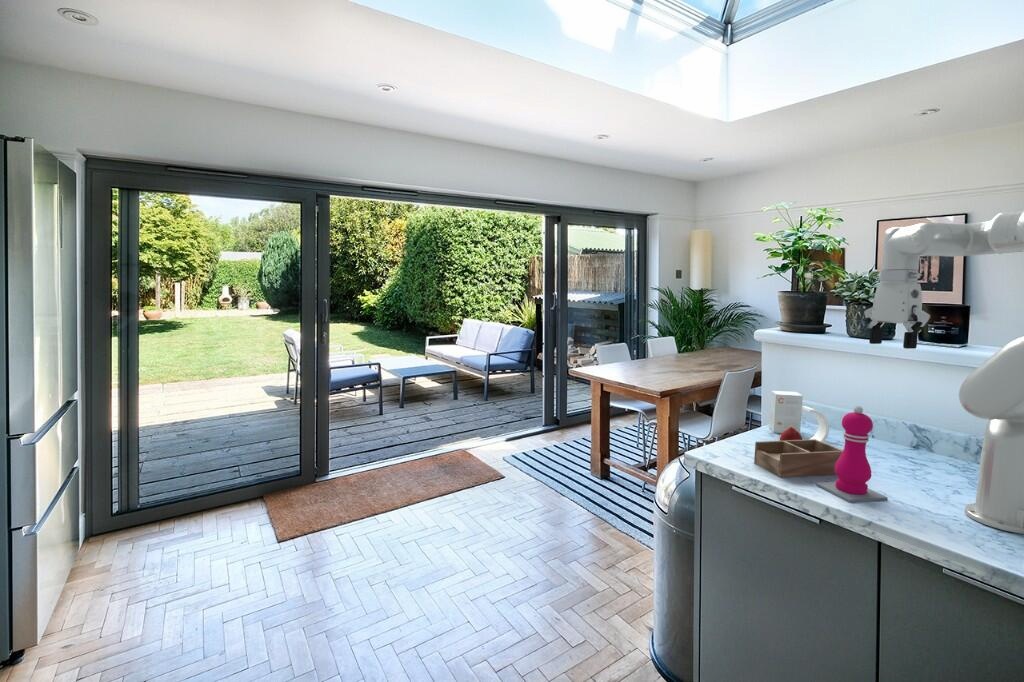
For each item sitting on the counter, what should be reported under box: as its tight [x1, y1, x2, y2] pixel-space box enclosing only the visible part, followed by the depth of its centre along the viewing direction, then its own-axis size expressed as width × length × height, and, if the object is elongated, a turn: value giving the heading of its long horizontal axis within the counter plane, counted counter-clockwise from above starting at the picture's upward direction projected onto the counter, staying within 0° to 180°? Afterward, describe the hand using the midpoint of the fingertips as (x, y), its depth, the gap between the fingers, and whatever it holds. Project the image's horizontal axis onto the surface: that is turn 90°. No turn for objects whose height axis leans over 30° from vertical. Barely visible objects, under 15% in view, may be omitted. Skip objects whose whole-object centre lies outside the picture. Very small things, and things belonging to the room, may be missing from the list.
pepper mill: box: [835, 405, 874, 495], centre depth 121 cm, size 7×7×20 cm
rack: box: [753, 438, 844, 478], centre depth 137 cm, size 11×18×6 cm, turn 100°
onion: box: [779, 425, 803, 441], centre depth 150 cm, size 6×6×8 cm
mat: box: [815, 481, 889, 503], centre depth 122 cm, size 10×10×1 cm
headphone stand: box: [802, 405, 830, 443], centre depth 156 cm, size 5×6×12 cm
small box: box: [768, 390, 804, 435], centre depth 172 cm, size 8×6×13 cm
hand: (891, 345), depth 131 cm, fingers open, 9 cm apart
